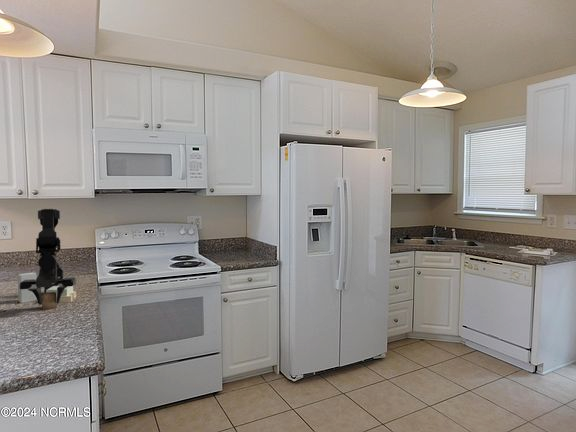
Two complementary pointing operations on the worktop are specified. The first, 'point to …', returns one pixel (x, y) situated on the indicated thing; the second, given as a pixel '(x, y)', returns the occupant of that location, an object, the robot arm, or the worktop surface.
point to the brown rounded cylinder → (49, 300)
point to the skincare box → (24, 293)
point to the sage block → (65, 292)
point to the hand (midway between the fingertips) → (49, 304)
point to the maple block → (67, 297)
